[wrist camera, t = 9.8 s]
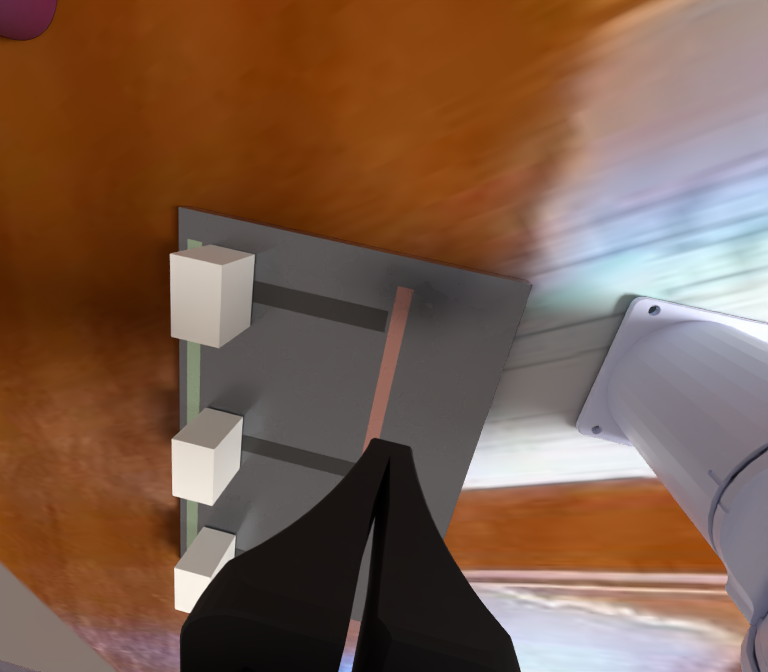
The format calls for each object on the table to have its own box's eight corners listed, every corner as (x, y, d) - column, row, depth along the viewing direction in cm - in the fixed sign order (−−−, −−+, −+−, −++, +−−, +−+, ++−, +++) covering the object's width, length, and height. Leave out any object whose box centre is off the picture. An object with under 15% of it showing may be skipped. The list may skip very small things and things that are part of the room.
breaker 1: (254, 254, 20) (222, 265, 17) (249, 326, 21) (218, 348, 18) (210, 244, 20) (170, 253, 17) (208, 316, 21) (171, 336, 18)
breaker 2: (235, 535, 27) (210, 577, 24) (233, 574, 28) (209, 618, 25) (203, 526, 27) (174, 567, 24) (202, 565, 29) (174, 609, 26)
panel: (527, 280, 19) (532, 285, 18) (411, 621, 29) (410, 635, 28) (190, 206, 20) (178, 206, 19) (188, 560, 30) (180, 572, 29)
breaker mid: (242, 416, 23) (214, 449, 20) (239, 468, 25) (212, 505, 22) (205, 407, 23) (171, 438, 20) (204, 459, 25) (172, 495, 22)
